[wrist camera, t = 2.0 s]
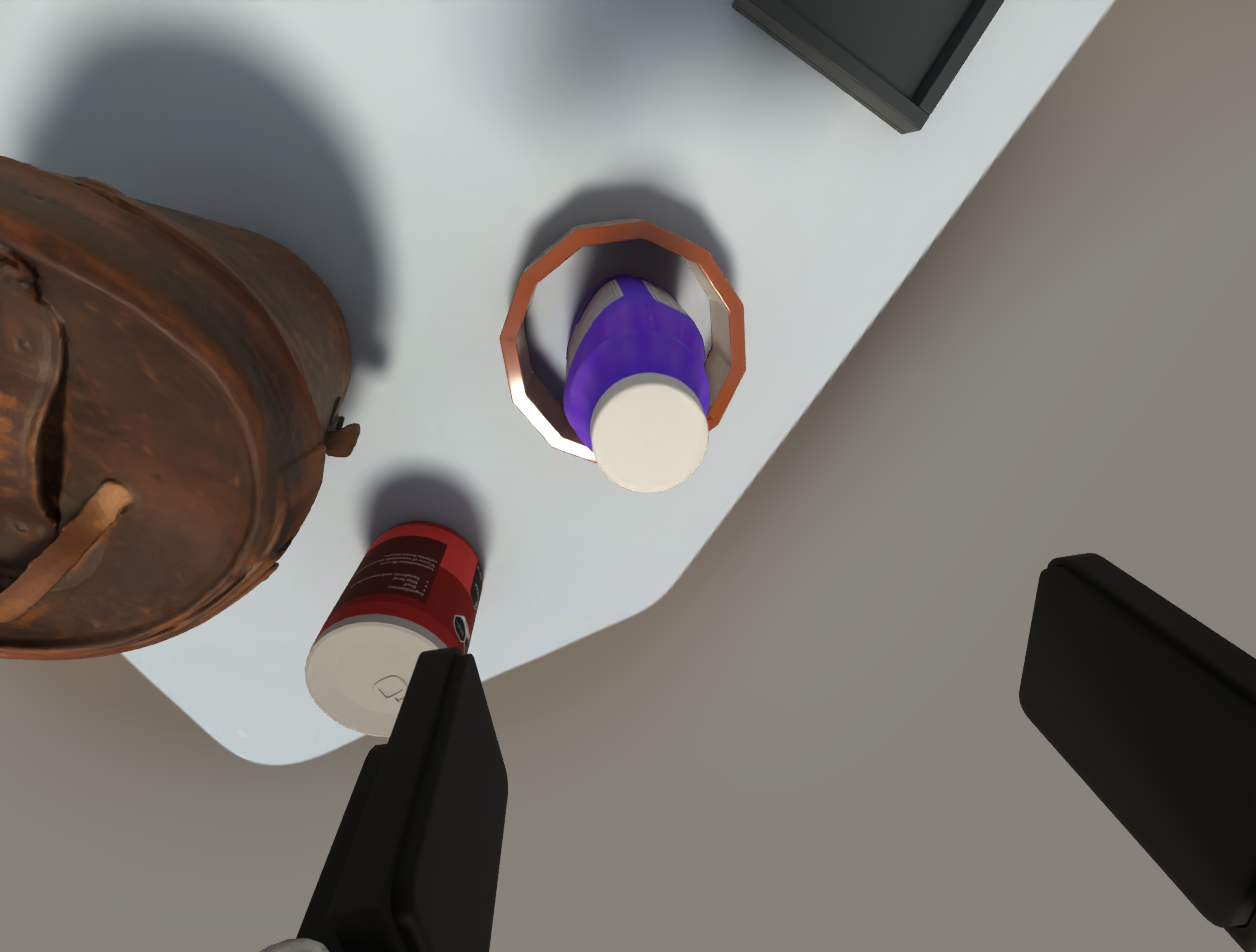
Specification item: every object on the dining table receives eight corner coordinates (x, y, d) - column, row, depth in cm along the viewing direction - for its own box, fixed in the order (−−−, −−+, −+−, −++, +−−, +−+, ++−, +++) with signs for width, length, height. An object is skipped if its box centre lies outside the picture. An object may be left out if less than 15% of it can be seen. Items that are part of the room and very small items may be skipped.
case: (169, 531, 39) (-116, 765, 23) (-22, 192, 31) (-678, 186, 15) (442, 478, 39) (350, 675, 23) (325, 126, 31) (53, 47, 15)
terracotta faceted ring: (533, 447, 39) (528, 479, 35) (492, 236, 34) (479, 241, 29) (729, 420, 39) (749, 448, 35) (718, 206, 34) (740, 207, 30)
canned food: (438, 633, 44) (398, 760, 34) (343, 569, 42) (270, 687, 32) (509, 567, 43) (489, 680, 33) (415, 495, 40) (361, 595, 30)
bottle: (636, 407, 39) (678, 552, 23) (551, 370, 37) (534, 497, 21) (689, 298, 36) (779, 376, 20) (601, 255, 35) (623, 301, 19)
